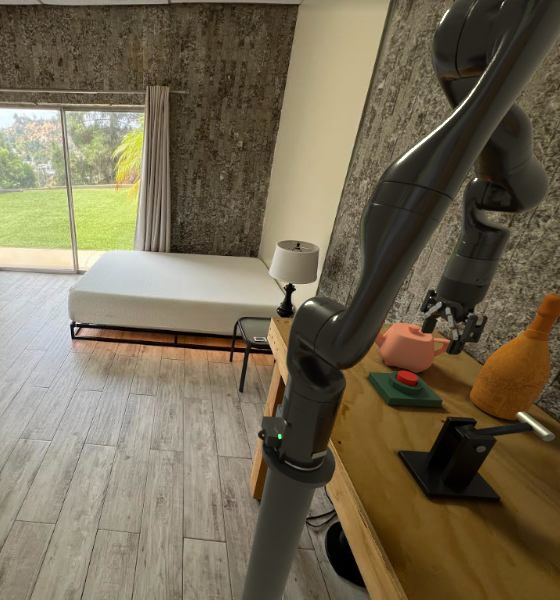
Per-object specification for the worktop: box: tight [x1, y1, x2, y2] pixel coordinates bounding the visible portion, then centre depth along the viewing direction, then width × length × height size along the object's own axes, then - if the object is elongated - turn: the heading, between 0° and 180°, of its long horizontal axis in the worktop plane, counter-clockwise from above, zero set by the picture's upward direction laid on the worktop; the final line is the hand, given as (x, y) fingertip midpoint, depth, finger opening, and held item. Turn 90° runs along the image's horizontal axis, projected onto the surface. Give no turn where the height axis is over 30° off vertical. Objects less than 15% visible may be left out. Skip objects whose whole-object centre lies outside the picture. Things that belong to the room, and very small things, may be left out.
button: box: [396, 370, 418, 386], centre depth 80 cm, size 4×4×2 cm
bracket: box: [397, 416, 502, 503], centre depth 58 cm, size 12×9×13 cm
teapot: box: [374, 322, 451, 374], centre depth 91 cm, size 13×20×12 cm, turn 58°
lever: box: [453, 412, 556, 443], centre depth 55 cm, size 12×5×2 cm, turn 84°
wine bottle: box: [469, 292, 560, 421], centre depth 70 cm, size 10×10×30 cm
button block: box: [367, 370, 444, 408], centre depth 81 cm, size 12×10×4 cm
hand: (438, 342), depth 71 cm, fingers open, 8 cm apart
